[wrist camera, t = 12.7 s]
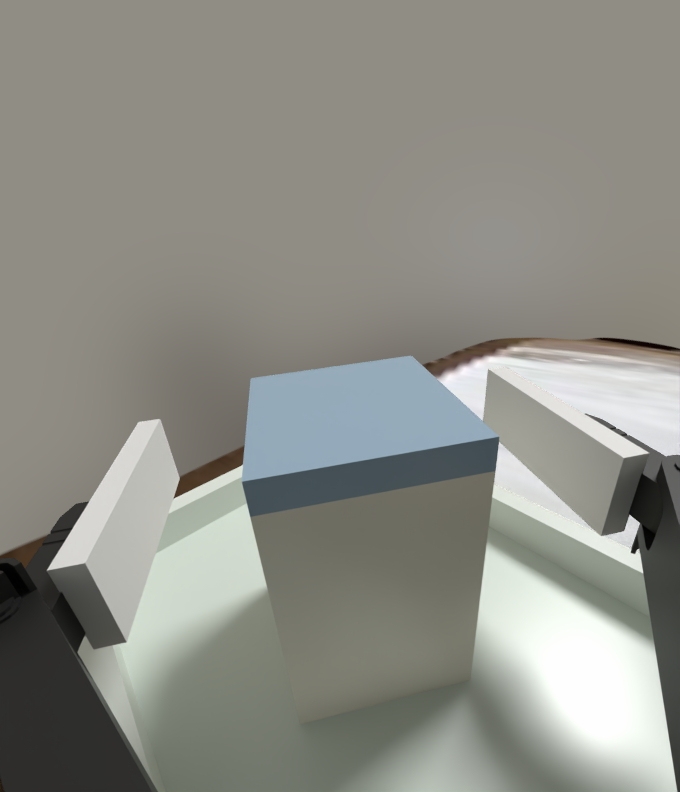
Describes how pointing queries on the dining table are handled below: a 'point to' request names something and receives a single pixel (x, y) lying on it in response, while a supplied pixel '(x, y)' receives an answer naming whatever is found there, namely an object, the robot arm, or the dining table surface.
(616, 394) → the dining table surface
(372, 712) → the tray
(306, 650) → the white boxy piece
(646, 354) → the dining table surface
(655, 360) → the dining table surface
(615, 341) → the dining table surface
